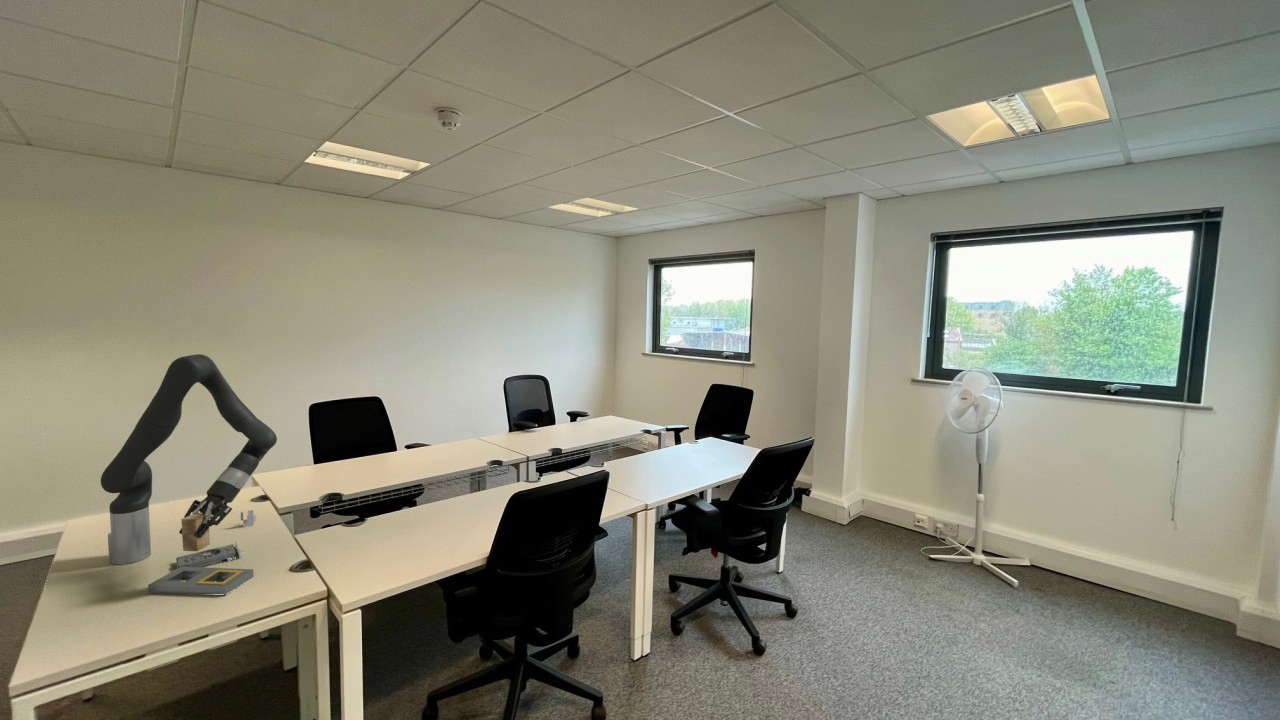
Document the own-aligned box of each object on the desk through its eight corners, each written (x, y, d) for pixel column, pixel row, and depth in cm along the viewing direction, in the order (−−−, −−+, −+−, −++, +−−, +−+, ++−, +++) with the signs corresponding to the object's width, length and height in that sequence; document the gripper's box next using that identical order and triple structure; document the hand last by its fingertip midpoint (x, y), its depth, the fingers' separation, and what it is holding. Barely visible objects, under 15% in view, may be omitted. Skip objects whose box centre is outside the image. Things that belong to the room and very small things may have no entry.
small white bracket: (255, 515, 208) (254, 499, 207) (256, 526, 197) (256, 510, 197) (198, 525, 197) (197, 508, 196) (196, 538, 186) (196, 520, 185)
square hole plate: (148, 592, 150) (147, 583, 149) (181, 574, 160) (181, 565, 160) (225, 595, 150) (225, 586, 149) (253, 576, 161) (253, 568, 160)
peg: (183, 550, 152) (181, 519, 151) (196, 544, 156) (194, 513, 156) (197, 551, 152) (195, 519, 151) (210, 544, 156) (208, 513, 156)
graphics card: (238, 537, 180) (243, 549, 172) (239, 547, 181) (243, 559, 172) (175, 552, 168) (176, 565, 160) (175, 563, 169) (177, 576, 160)
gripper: (203, 476, 161) (161, 527, 151) (236, 481, 158) (196, 534, 147) (221, 487, 167) (182, 537, 157) (254, 492, 163) (216, 543, 153)
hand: (189, 535), depth 152 cm, fingers closed on peg, 5 cm apart
